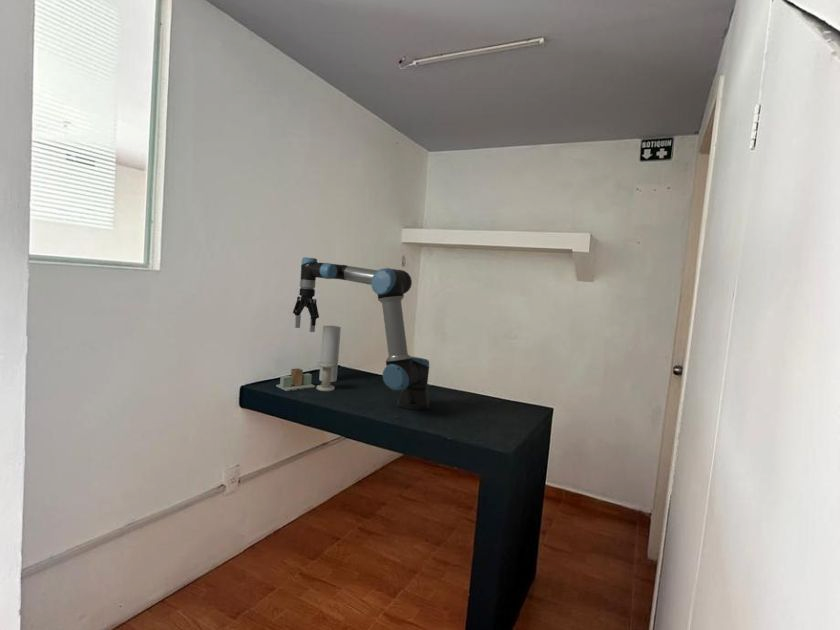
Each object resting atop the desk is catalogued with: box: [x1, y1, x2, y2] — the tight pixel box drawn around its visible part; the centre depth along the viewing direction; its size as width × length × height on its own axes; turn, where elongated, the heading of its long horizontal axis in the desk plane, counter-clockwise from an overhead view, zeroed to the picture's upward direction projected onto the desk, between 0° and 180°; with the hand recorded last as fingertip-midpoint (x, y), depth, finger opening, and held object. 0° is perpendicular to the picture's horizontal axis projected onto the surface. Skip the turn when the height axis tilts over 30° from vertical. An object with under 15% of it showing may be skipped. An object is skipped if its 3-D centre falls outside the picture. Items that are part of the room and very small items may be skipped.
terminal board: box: [276, 372, 316, 392], centre depth 226 cm, size 10×16×6 cm, turn 137°
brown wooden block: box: [290, 368, 304, 386], centre depth 225 cm, size 4×4×8 cm
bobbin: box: [316, 361, 336, 392], centre depth 227 cm, size 9×9×13 cm
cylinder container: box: [319, 325, 342, 383], centre depth 245 cm, size 9×9×30 cm
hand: (304, 329), depth 228 cm, fingers open, 13 cm apart
